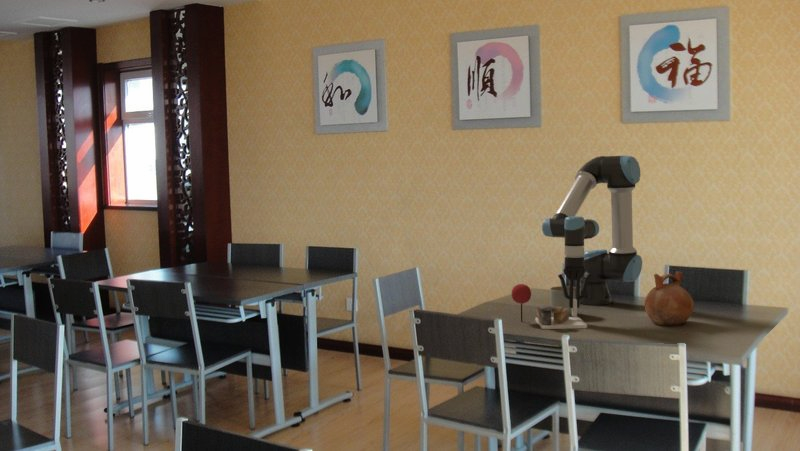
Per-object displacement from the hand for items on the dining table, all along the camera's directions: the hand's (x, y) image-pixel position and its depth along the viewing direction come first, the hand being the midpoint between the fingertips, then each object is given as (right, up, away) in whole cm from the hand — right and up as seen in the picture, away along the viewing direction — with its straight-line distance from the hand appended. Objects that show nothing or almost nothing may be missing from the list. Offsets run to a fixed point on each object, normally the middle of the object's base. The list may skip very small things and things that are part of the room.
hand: (574, 315), depth 320 cm
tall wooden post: (-12, -3, -2) cm, 13 cm away
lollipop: (-20, -3, +4) cm, 21 cm away
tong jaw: (-9, -2, -4) cm, 10 cm away
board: (-6, -3, -2) cm, 7 cm away
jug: (+36, -3, -4) cm, 36 cm away
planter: (0, -2, +16) cm, 16 cm away
